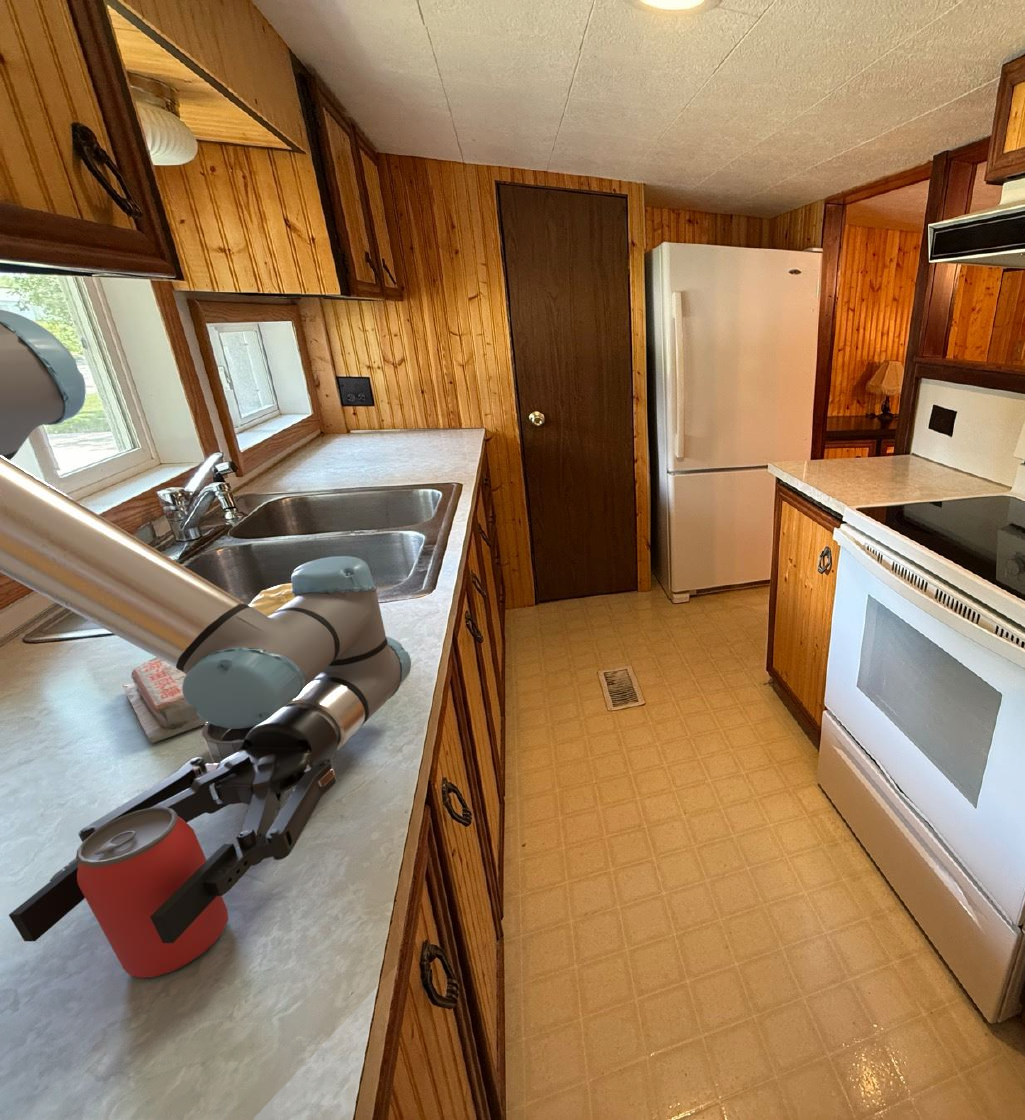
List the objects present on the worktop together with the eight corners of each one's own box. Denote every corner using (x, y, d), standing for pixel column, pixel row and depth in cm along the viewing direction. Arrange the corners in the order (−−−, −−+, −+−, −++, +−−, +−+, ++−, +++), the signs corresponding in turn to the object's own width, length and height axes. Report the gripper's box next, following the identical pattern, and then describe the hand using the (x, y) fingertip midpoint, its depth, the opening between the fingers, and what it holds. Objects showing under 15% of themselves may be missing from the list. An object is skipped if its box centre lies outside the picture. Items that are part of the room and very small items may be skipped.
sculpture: (267, 674, 88) (245, 608, 84) (246, 647, 95) (225, 584, 91) (354, 645, 96) (338, 584, 92) (328, 622, 103) (313, 564, 99)
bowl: (189, 775, 68) (176, 743, 67) (260, 718, 78) (250, 689, 77) (282, 776, 68) (271, 744, 67) (341, 719, 78) (332, 690, 77)
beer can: (106, 964, 48) (44, 853, 44) (200, 897, 54) (154, 792, 50) (156, 996, 46) (96, 881, 42) (248, 922, 52) (204, 814, 48)
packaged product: (241, 678, 78) (137, 713, 71) (252, 709, 80) (151, 747, 73) (205, 635, 89) (111, 662, 81) (215, 663, 91) (124, 692, 83)
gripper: (415, 762, 66) (259, 966, 45) (213, 759, 65) (-38, 963, 45) (401, 704, 63) (228, 893, 42) (190, 701, 63) (-88, 889, 42)
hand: (91, 929), depth 43 cm, fingers open, 9 cm apart
